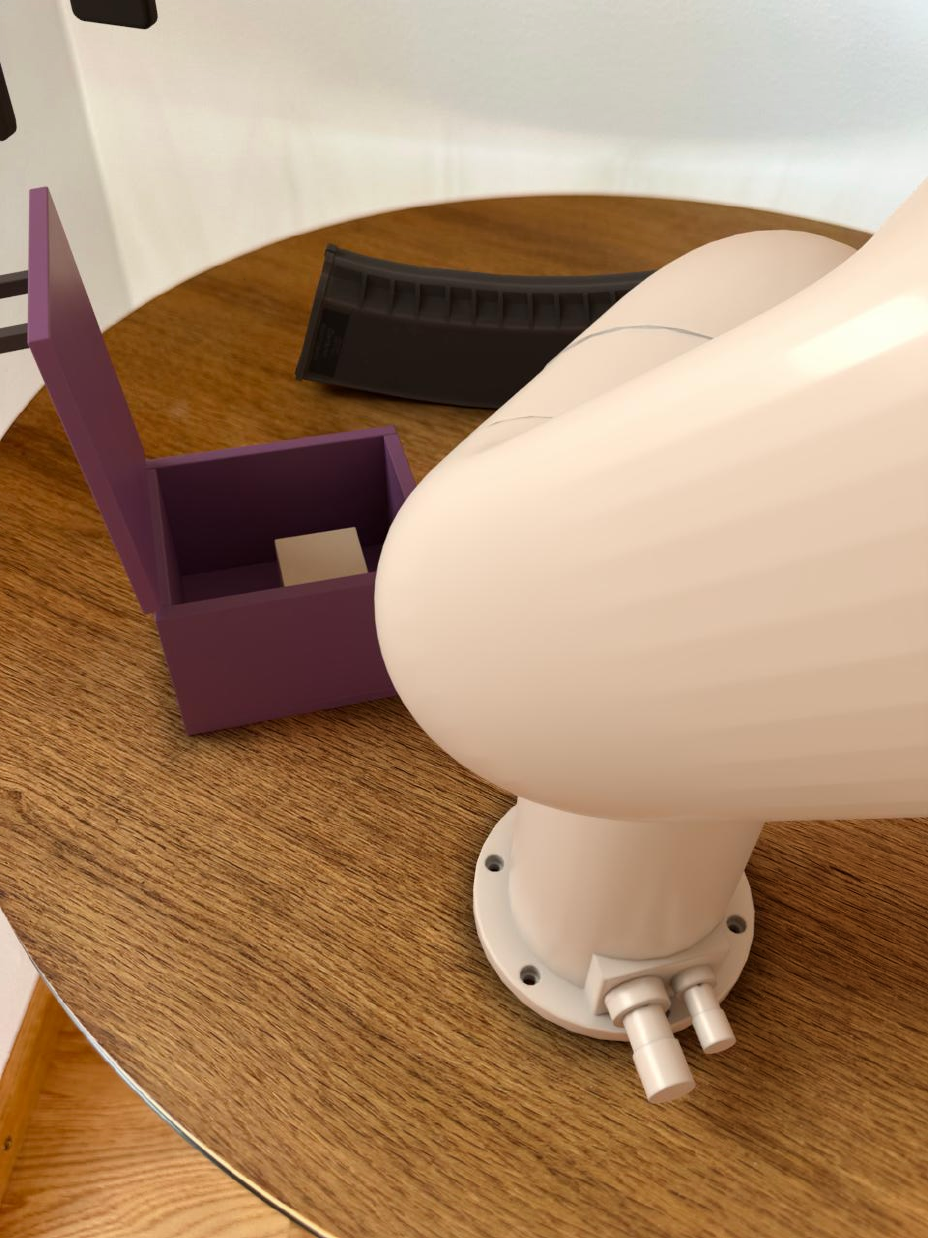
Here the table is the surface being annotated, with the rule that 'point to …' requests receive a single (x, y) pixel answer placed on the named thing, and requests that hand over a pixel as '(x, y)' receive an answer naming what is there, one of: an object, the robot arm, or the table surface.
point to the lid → (84, 391)
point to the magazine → (445, 327)
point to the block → (319, 557)
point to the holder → (271, 575)
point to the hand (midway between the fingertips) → (49, 72)
